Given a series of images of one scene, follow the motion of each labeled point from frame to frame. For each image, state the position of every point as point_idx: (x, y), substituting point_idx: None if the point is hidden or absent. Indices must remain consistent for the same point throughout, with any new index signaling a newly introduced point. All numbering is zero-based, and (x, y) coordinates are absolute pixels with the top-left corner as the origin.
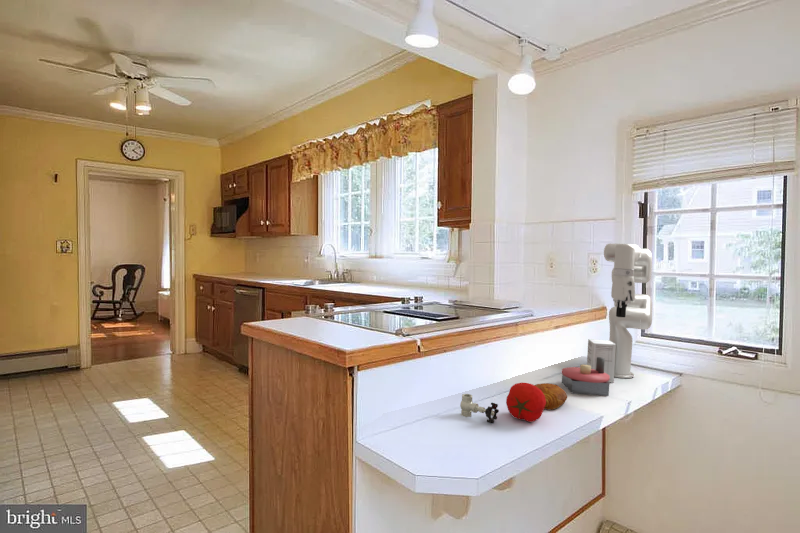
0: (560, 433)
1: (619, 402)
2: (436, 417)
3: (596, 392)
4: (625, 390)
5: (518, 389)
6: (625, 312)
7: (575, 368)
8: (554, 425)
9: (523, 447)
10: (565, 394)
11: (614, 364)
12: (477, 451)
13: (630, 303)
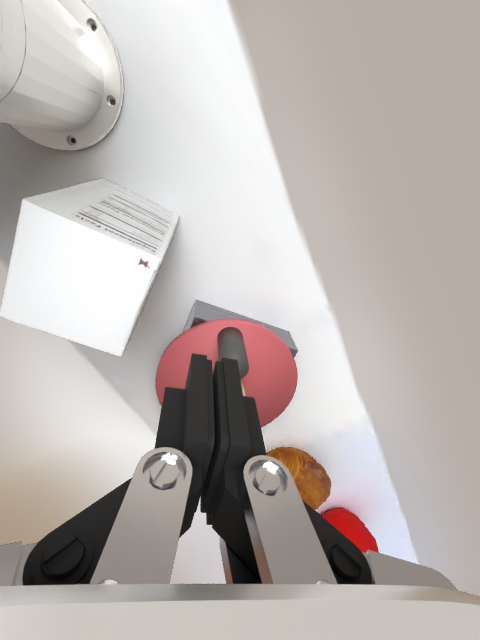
0: (395, 502)
1: (334, 338)
2: None
3: None
4: (260, 241)
5: None
6: (241, 395)
7: (173, 383)
8: (371, 498)
9: (402, 544)
10: (317, 471)
11: (172, 232)
12: None
13: (453, 587)
